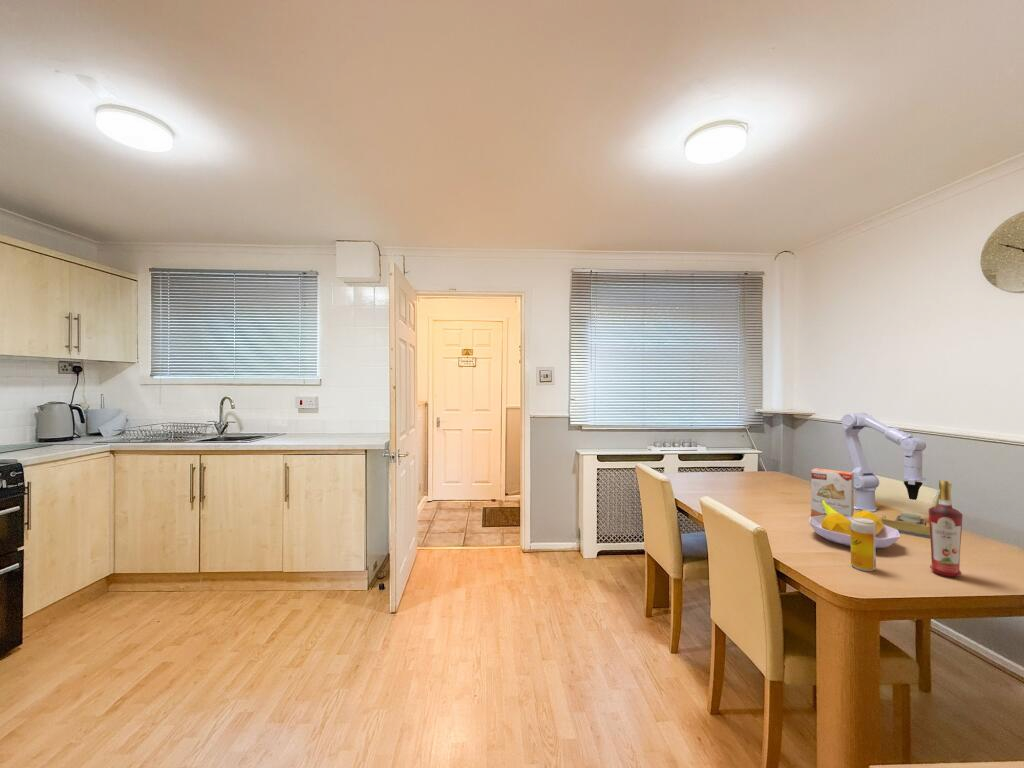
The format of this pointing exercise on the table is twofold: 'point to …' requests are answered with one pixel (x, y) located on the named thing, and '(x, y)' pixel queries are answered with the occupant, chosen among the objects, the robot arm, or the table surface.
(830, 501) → the cracker box
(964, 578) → the table surface
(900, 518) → the square caster platform
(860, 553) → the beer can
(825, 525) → the fruit bowl
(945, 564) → the liquor
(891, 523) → the plate
